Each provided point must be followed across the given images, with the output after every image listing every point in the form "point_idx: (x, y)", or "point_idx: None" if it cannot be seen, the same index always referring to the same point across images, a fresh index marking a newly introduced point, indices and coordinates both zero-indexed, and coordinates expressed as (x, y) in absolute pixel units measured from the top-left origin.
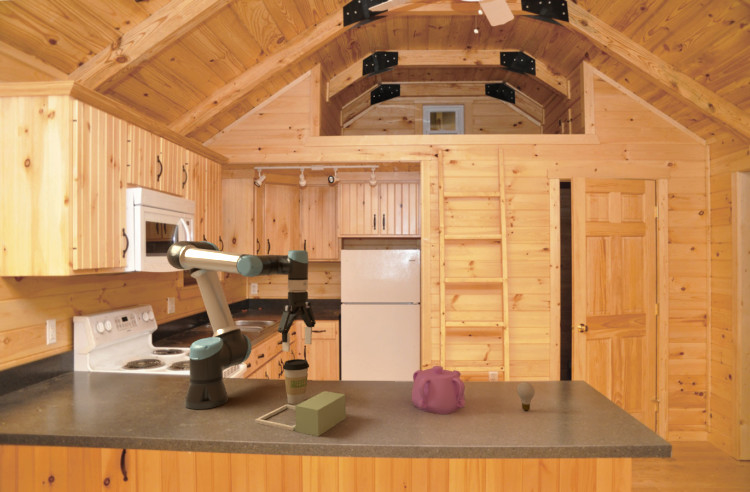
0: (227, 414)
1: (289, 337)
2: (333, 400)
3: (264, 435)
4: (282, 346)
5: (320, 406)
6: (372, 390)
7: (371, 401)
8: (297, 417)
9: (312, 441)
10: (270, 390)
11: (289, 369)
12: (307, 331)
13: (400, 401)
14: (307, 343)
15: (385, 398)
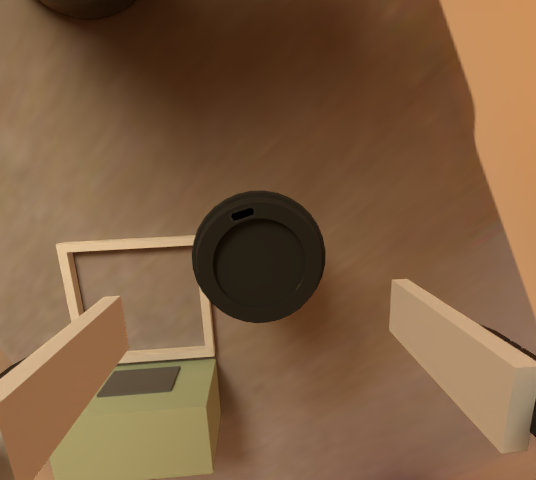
0: (52, 114)
1: (54, 443)
2: (147, 476)
3: (21, 322)
4: (84, 312)
5: (84, 476)
6: None
7: (356, 403)
8: None
9: None
10: (308, 63)
11: (194, 270)
12: (465, 369)
13: (387, 458)
14: (393, 306)
15: (393, 420)
